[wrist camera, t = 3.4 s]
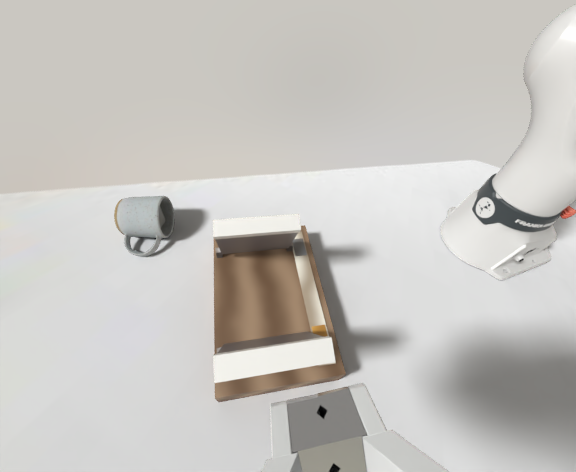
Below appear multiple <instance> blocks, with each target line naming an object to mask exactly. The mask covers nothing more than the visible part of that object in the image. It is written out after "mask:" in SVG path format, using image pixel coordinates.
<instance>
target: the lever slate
mask: <svg viewBox="0 0 576 472" xmlns="http://www.w3.org/2000/svg"><path fill="white" fill-rule="evenodd" d="M300 231H301V225H300V218H299V214H289V215H275V216H261V217H247V218H233V219H219V220H213V237H214V239H215V240H216V242H217V244H218V247H219V249H220V251H221V253H222V254H231V253H241V252H252V251H263V250H274V249H284V248H289V246H290V245H291V243H292V242H293V240H294V239H295V237H296V235H297V234H298V233H299V232H300Z"/></svg>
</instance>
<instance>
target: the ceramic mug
mask: <svg viewBox="0 0 576 472" xmlns="http://www.w3.org/2000/svg"><path fill="white" fill-rule="evenodd" d="M114 219H115V224H116V226H117V228H118V230H119V231H120V232H121V233H122V234H124V235H125V238H124V244H125V247H126V249H127V250H128V251H129V252H130V253H131V254H133V255H136V256H141V257H144V256H149V255H151V254H153V253H154V252H155V251H156V250H157V249H158V247H159V244H160V242H161V239H162V238H167V237H169V236H170V235H171V233H172V231H173V227H174V210H173V206H172V203H171V201H170V200H169V198H168V197H166V196H154V197H129V198H125V199H122V200H120V201H119V202H118V204H117V205H116V208H115V213H114ZM131 237H152V238H156V240H155V242H154V244H153V246H152V247H151V248H150V249H149V250H148V251H147V252H145V253H142V252H138V251H137V250H132V248H131V245H130V238H131Z"/></svg>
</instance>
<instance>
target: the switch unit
mask: <svg viewBox="0 0 576 472" xmlns="http://www.w3.org/2000/svg"><path fill="white" fill-rule="evenodd" d="M306 331H307V332H311V333H314V334H317V335H320V336H323V337H326V336H329V337H332V343H333V349H334V355H335V361H336V362H334V363H328V364H322V365H316V366H311V367H305V368H299V369H293V370H288V371H282V372H276V373H270V374H265V375H259V376H253V377H248V378H242V379H236V380H230V381H225V382H219V383H215V399H216V400H217V401H218V402H222V401H228V400H233V399H239V398H244V397H249V396H255V395H260V394H265V393H271V392H276V391H281V390H287V389H292V388H297V387H303V386H308V385H314V384H319V383H324V382H330V381H335V380H339V379H340V378H342V377H343V376H344V375H346V373H345V369H344V366H343V362H342V358H341V355H340V351H339V347H338V344H337V340H336V336H335V333H334V329H333V325H332V322H331V318H330V315H329V311H328V307H327V304H326V300H325V296H324V293H323V289H322V285H321V282H320V278H319V274H318V271H317V267H316V263H315V260H314V256H313V252H312V249H311V245H310V242H309V238H308V234H307V231H306V227H305V226H301V231H300V232H299V233H298V234H297V235H296V237H295V239H294V240H293V242H292V243H291V245H290V246H289V248H284V249H274V250H263V251H252V252H241V253H231V254H222V253H221V251H220V249H219V247H218V244H217V242H216V240H215V239H214V333H215V354H217V353H218V351H219V350H220V349H221V347H222V346H223V345H224V344H226V343H233V342H240V341H246V340H253V339H260V338H266V337H273V336H280V335H286V334H293V333H300V332H306Z"/></svg>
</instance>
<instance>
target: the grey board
mask: <svg viewBox="0 0 576 472" xmlns="http://www.w3.org/2000/svg"><path fill="white" fill-rule="evenodd" d="M334 362H336V361H335V355H334V349H333V343H332V337H329V336H326V337H323V336H320V335H317V334H314V333H311V332H307V331H306V332H300V333H293V334H286V335H280V336H273V337H266V338H260V339H253V340H246V341H240V342H233V343H226V344H224V345H223V346H222V347H221V349H220V350H219V351H218V353H217V354H214V355H213V365H214V383H219V382H225V381H230V380H236V379H242V378H248V377H253V376H259V375H265V374H270V373H276V372H282V371H288V370H293V369H299V368H305V367H311V366H316V365H322V364H328V363H334Z"/></svg>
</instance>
